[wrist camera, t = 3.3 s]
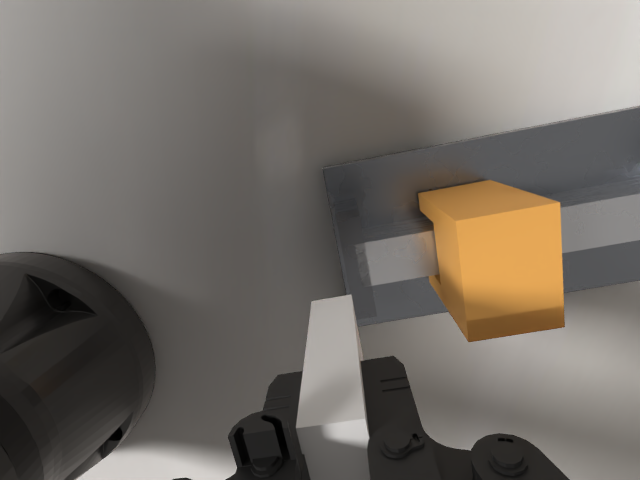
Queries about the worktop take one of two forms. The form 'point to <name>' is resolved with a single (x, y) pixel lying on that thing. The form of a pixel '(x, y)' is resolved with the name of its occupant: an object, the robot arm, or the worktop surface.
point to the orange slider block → (497, 258)
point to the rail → (503, 167)
